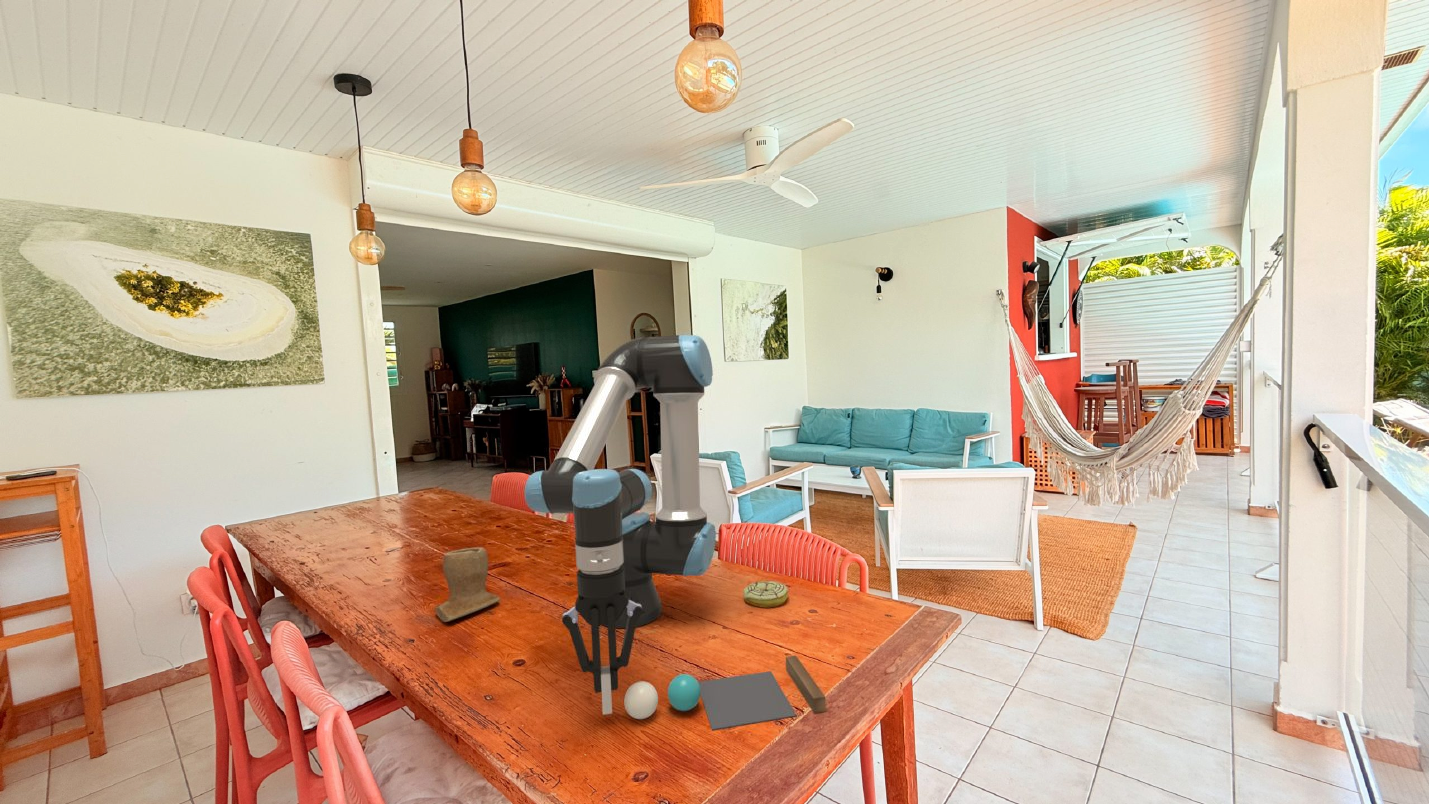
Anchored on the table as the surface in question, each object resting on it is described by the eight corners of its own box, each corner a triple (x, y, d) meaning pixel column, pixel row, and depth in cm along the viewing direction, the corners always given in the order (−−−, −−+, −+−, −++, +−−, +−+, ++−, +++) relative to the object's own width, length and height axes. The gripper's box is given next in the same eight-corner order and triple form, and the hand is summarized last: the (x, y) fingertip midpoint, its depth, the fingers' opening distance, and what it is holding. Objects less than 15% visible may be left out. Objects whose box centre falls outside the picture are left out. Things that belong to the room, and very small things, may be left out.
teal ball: (656, 698, 93) (674, 669, 94) (668, 692, 98) (686, 664, 99) (681, 722, 91) (700, 692, 91) (693, 714, 96) (710, 686, 96)
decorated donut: (750, 591, 145) (749, 576, 145) (791, 595, 142) (791, 580, 142) (738, 607, 135) (738, 592, 135) (783, 612, 132) (782, 596, 132)
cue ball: (655, 677, 92) (669, 706, 93) (638, 671, 97) (651, 698, 97) (629, 701, 89) (644, 730, 90) (612, 694, 93) (626, 722, 94)
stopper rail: (814, 713, 92) (813, 698, 92) (786, 669, 106) (785, 656, 106) (825, 711, 93) (825, 696, 93) (796, 668, 106) (795, 655, 106)
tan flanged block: (478, 595, 148) (475, 539, 148) (506, 604, 142) (503, 545, 141) (421, 617, 136) (417, 555, 135) (449, 628, 129) (445, 563, 128)
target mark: (712, 730, 89) (712, 729, 89) (696, 683, 103) (696, 682, 103) (796, 716, 92) (796, 715, 92) (770, 672, 105) (770, 671, 105)
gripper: (557, 579, 86) (564, 729, 87) (643, 570, 89) (649, 716, 90) (560, 563, 93) (567, 702, 95) (639, 555, 96) (645, 690, 97)
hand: (607, 708), depth 92 cm, fingers closed
